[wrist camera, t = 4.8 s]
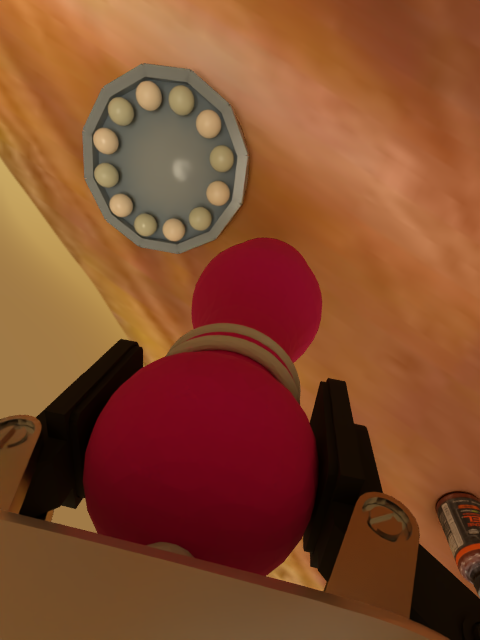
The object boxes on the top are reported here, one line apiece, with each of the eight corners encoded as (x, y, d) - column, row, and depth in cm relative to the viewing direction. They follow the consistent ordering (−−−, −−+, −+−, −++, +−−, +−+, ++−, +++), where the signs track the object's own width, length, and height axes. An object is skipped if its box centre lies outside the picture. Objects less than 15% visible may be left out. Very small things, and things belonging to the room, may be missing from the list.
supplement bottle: (487, 493, 47) (539, 584, 37) (474, 523, 49) (520, 617, 39) (440, 486, 48) (478, 573, 37) (429, 517, 50) (462, 606, 40)
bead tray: (93, 62, 34) (71, 50, 31) (261, 84, 33) (256, 74, 30) (98, 233, 41) (80, 239, 38) (237, 258, 40) (231, 266, 37)
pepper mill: (288, 347, 25) (248, 801, 7) (198, 304, 25) (-75, 658, 7) (339, 259, 22) (499, 666, 4) (237, 210, 22) (-70, 406, 4)
